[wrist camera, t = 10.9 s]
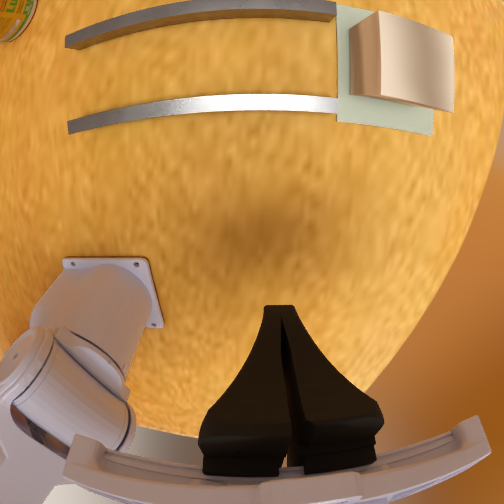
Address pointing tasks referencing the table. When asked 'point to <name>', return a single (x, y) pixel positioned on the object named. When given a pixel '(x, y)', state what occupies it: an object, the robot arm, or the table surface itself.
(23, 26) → the supplement bottle
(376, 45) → the block
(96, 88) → the table surface
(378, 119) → the pad
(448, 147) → the table surface
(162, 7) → the parallel grey rails
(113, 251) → the table surface
